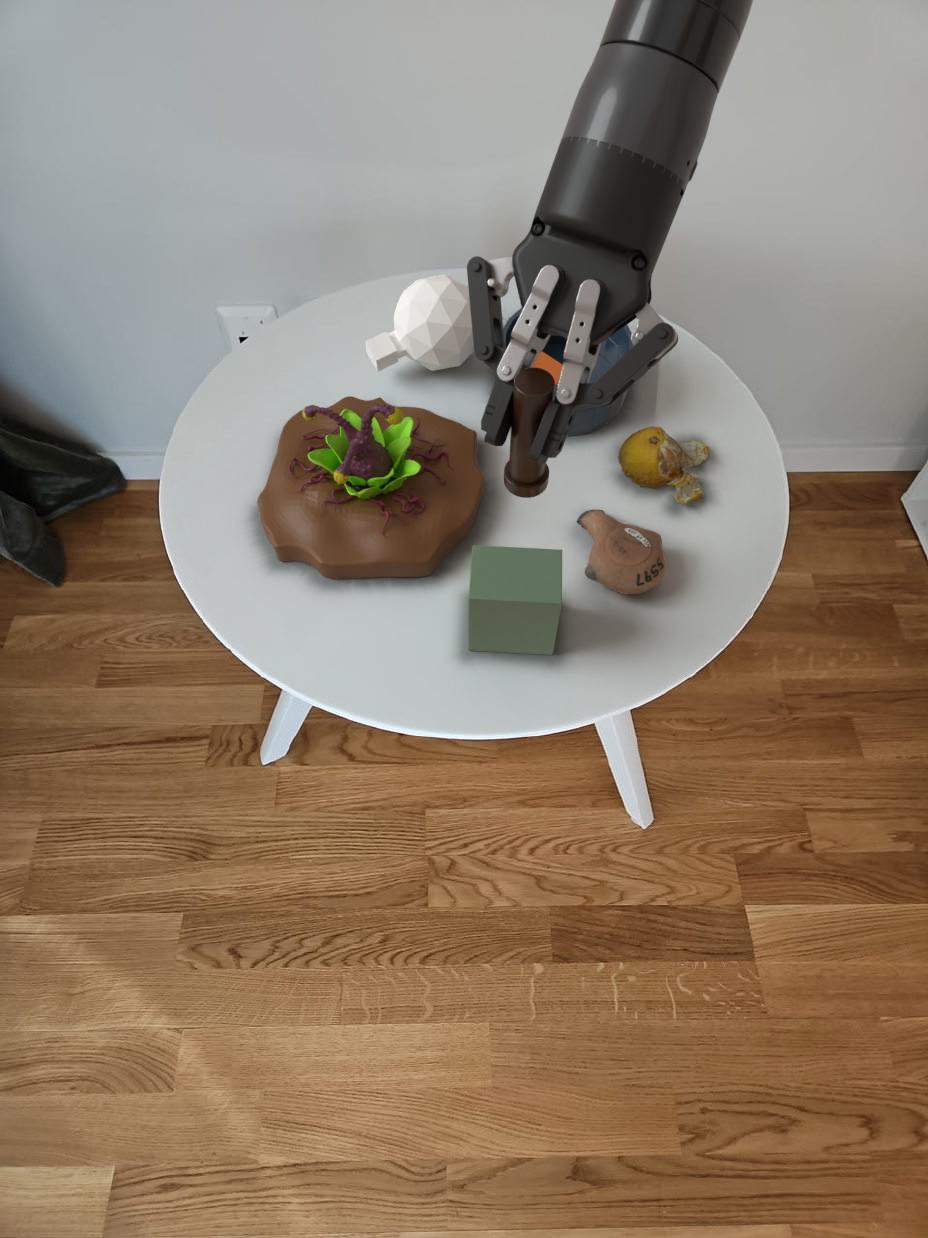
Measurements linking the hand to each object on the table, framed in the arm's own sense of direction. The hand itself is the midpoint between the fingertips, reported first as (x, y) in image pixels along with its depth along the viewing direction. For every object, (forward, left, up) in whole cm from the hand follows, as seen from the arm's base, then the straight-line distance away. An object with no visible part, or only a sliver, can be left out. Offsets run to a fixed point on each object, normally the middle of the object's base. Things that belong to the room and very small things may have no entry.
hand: (515, 451), depth 55 cm
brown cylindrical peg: (-1, -2, -5) cm, 5 cm away
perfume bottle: (+9, -33, -23) cm, 41 cm away
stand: (-1, -1, -23) cm, 23 cm away
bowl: (-5, -29, -23) cm, 37 cm away
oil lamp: (-10, -9, -23) cm, 27 cm away
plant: (+12, -15, -23) cm, 30 cm away
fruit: (-15, -19, -23) cm, 33 cm away
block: (-3, -27, -22) cm, 35 cm away
